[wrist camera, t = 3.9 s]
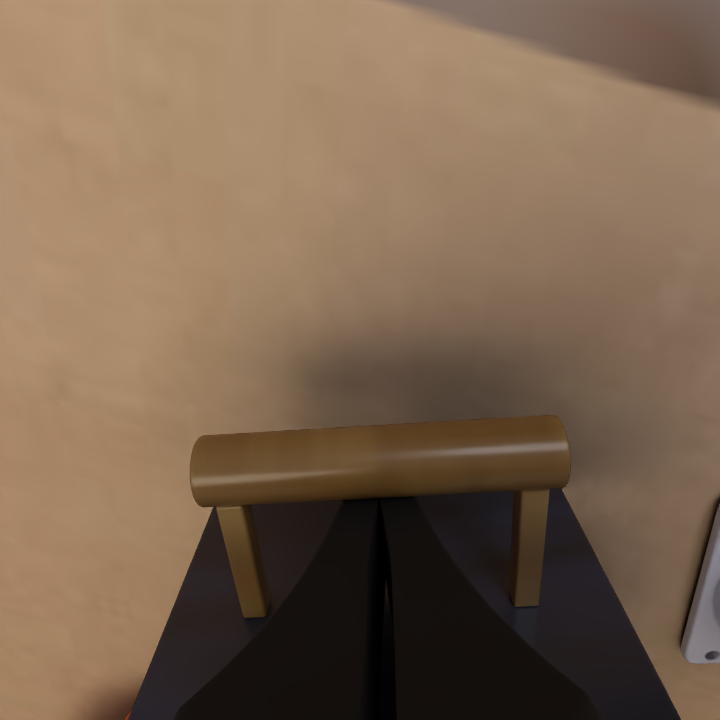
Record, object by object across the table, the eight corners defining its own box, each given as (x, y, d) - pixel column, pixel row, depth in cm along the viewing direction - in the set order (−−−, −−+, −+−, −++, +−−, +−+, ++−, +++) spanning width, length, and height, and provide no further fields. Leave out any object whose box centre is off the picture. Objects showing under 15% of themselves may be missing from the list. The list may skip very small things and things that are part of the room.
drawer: (179, 362, 15) (22, 565, 8) (574, 336, 14) (756, 530, 7) (273, 735, 22) (231, 1003, 15) (534, 728, 21) (608, 1001, 15)
